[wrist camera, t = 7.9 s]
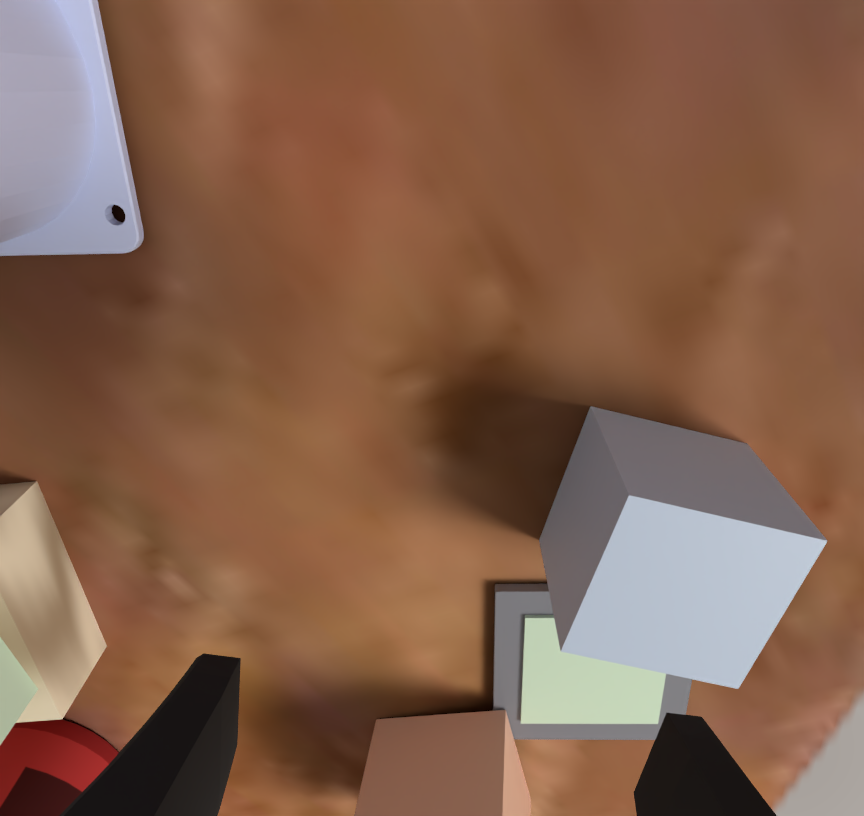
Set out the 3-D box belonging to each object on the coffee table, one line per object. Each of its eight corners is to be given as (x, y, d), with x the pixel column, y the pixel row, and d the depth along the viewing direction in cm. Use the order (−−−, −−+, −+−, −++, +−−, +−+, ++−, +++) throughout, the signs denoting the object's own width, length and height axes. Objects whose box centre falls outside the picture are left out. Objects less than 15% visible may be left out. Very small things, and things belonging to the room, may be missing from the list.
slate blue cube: (590, 404, 21) (629, 495, 16) (746, 442, 21) (827, 540, 16) (538, 538, 23) (560, 651, 18) (681, 570, 23) (738, 688, 19)
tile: (494, 583, 23) (495, 594, 23) (704, 583, 23) (709, 593, 23) (492, 730, 26) (492, 742, 26) (678, 730, 26) (682, 743, 26)
